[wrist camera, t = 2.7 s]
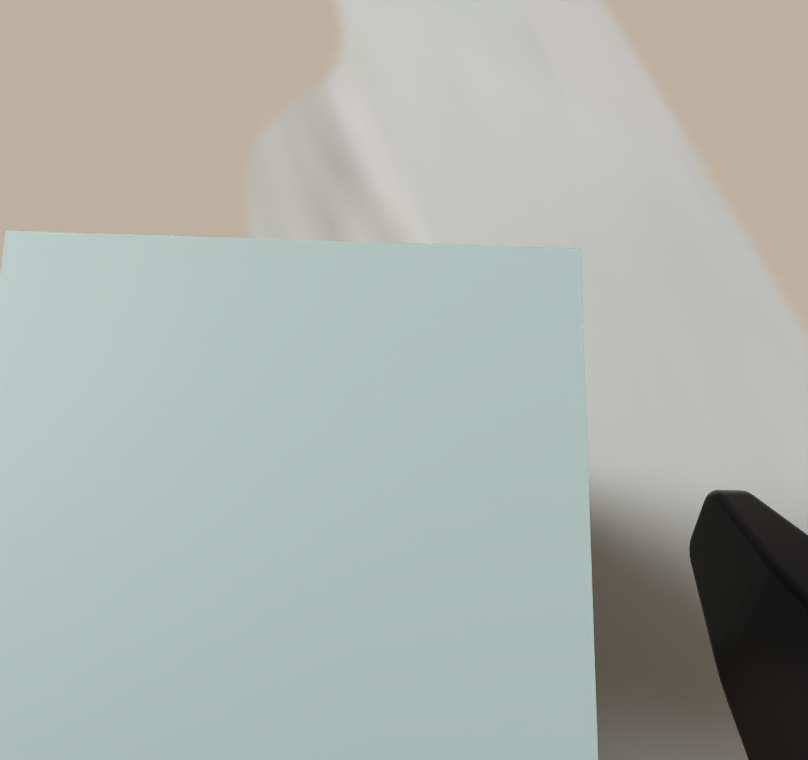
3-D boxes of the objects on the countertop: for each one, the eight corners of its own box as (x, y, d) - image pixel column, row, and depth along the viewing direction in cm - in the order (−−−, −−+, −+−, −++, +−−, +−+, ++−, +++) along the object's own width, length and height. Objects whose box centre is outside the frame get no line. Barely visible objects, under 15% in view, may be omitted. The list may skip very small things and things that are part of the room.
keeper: (440, 635, 15) (602, 873, 5) (236, 633, 15) (-78, 878, 4) (441, 434, 16) (581, 247, 5) (247, 430, 15) (7, 230, 5)
